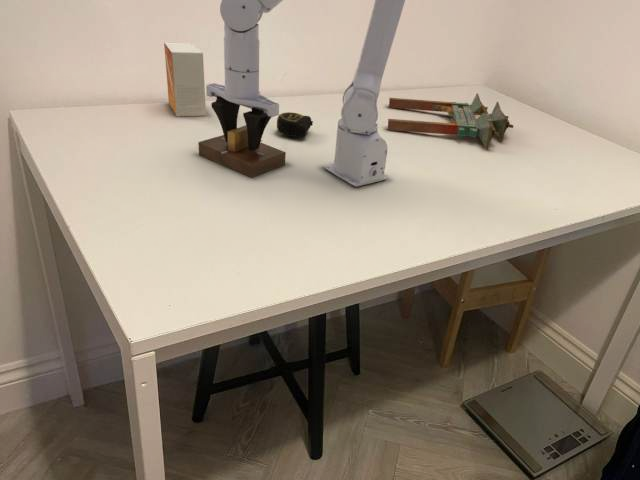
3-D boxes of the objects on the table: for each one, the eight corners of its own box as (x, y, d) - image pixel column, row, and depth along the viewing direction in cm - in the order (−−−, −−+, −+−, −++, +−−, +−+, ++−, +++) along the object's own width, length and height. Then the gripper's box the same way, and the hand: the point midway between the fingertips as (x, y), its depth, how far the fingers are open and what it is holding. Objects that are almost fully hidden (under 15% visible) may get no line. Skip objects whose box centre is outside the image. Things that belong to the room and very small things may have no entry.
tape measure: (304, 142, 116) (305, 124, 114) (272, 136, 116) (272, 118, 114) (312, 132, 121) (313, 115, 119) (281, 126, 122) (282, 109, 119)
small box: (168, 104, 123) (163, 41, 116) (197, 104, 126) (194, 42, 119) (175, 116, 118) (171, 51, 110) (206, 116, 120) (203, 52, 113)
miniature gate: (390, 86, 146) (504, 95, 147) (388, 108, 149) (500, 116, 150) (388, 118, 124) (522, 128, 124) (386, 142, 127) (517, 152, 127)
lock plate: (287, 164, 105) (287, 150, 104) (249, 178, 98) (249, 164, 96) (236, 143, 110) (236, 130, 109) (196, 155, 103) (195, 141, 101)
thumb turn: (234, 152, 100) (234, 132, 98) (227, 149, 100) (227, 129, 98) (256, 144, 104) (256, 124, 102) (249, 141, 105) (249, 122, 103)
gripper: (291, 74, 95) (287, 150, 103) (224, 55, 100) (226, 129, 108) (264, 81, 90) (263, 160, 98) (196, 60, 95) (200, 137, 102)
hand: (242, 145), depth 102 cm, fingers open, 5 cm apart
